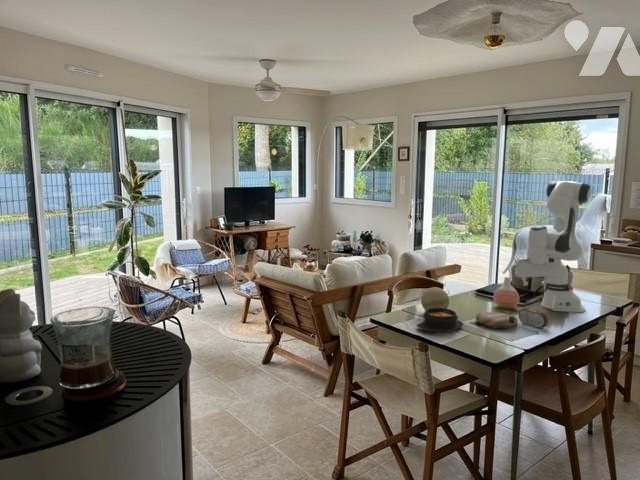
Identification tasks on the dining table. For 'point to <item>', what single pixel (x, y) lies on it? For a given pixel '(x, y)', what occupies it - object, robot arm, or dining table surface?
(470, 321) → the dining table surface
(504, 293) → the vase
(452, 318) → the casserole
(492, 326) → the turntable base
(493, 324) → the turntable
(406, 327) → the dining table surface
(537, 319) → the tin
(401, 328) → the dining table surface
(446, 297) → the decorative ball
